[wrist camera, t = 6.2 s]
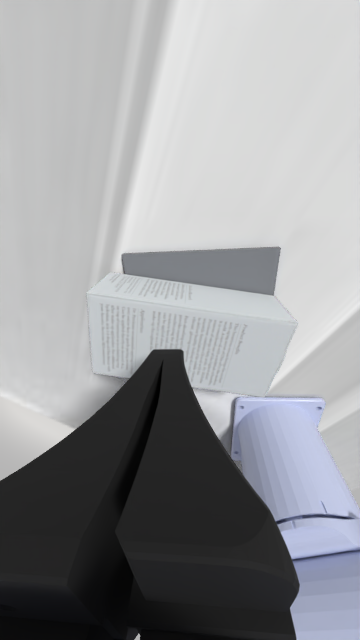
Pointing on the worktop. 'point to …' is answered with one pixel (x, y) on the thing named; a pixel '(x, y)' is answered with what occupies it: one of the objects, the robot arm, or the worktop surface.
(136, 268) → the mat
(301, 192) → the worktop surface
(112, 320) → the skincare box
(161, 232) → the worktop surface
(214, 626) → the robot arm
